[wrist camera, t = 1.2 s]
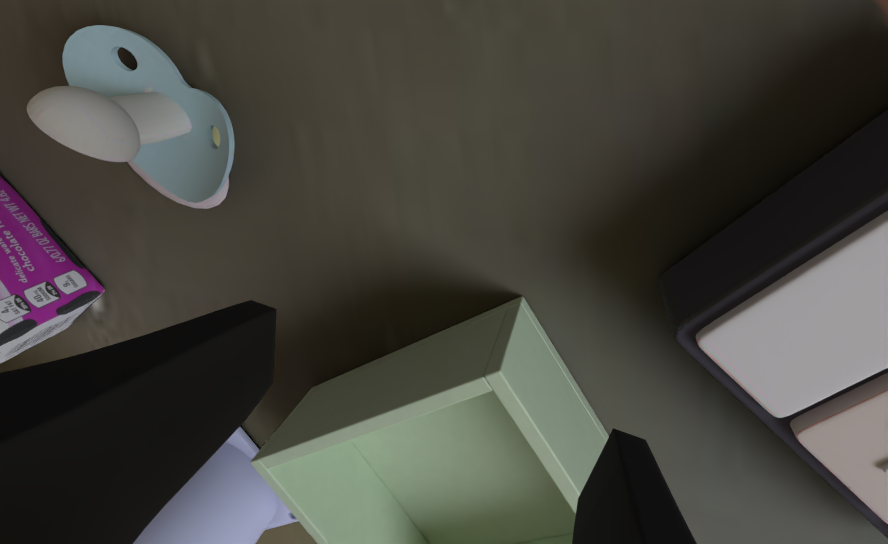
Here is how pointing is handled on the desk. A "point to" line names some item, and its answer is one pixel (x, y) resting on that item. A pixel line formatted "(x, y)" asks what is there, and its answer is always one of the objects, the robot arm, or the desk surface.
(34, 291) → the candy bar box
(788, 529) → the desk surface
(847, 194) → the calculator
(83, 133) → the pacifier
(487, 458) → the green storage bin
